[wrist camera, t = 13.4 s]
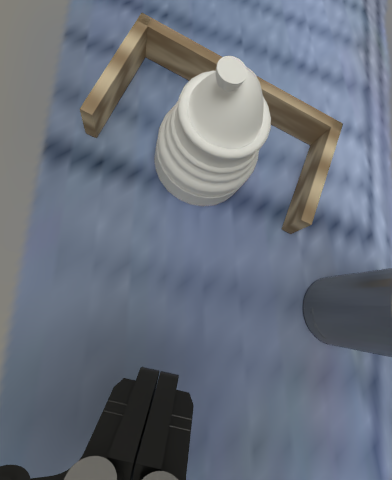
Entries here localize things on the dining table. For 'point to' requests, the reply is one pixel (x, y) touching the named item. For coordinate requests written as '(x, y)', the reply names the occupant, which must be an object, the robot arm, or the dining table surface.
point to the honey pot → (213, 134)
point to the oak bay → (203, 60)
